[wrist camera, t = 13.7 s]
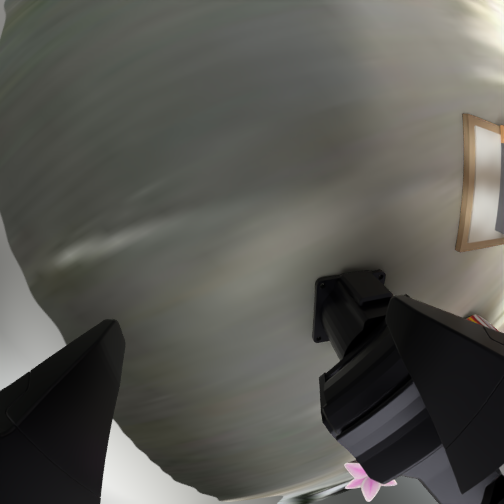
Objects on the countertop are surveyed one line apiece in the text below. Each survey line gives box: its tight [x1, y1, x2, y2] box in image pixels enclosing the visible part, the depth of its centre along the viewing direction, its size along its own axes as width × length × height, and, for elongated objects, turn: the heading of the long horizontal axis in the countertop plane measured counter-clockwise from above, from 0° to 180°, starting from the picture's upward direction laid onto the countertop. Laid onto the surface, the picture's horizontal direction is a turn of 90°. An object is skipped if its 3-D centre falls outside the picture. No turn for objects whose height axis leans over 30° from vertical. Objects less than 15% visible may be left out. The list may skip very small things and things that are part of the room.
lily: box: [344, 463, 397, 502], centre depth 36 cm, size 12×12×10 cm
